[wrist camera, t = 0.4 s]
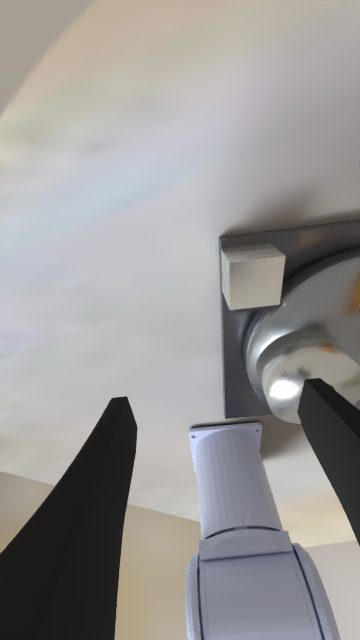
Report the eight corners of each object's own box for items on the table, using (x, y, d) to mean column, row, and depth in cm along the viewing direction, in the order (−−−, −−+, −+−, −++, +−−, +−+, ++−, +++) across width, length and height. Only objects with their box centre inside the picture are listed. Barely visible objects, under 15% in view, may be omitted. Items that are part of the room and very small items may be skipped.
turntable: (399, 395, 23) (445, 441, 19) (241, 410, 24) (254, 458, 20) (490, 232, 15) (602, 257, 11) (245, 262, 16) (270, 295, 12)
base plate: (400, 394, 25) (430, 425, 22) (224, 411, 25) (230, 443, 23) (510, 200, 15) (590, 209, 12) (218, 237, 16) (229, 253, 13)
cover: (328, 386, 19) (352, 420, 17) (253, 393, 20) (265, 428, 17) (348, 324, 16) (381, 355, 14) (258, 334, 16) (273, 366, 14)
